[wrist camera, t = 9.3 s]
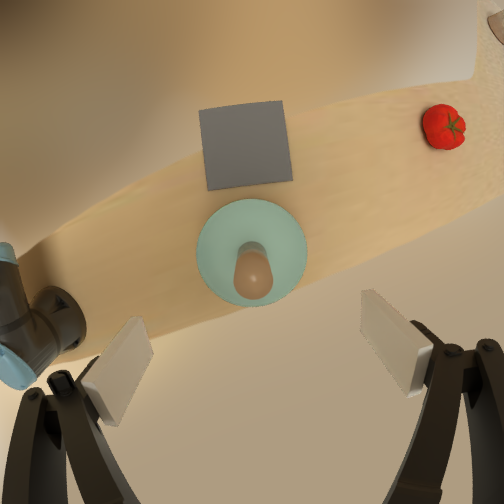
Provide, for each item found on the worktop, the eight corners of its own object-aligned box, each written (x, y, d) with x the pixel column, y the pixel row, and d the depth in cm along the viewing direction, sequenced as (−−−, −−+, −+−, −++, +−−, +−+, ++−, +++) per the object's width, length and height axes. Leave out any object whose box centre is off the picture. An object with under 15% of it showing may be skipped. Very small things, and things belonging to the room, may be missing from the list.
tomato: (427, 101, 42) (449, 92, 34) (454, 131, 43) (476, 128, 36) (409, 129, 43) (431, 123, 36) (437, 161, 44) (460, 160, 37)
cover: (206, 307, 35) (193, 350, 25) (191, 205, 32) (167, 214, 22) (307, 296, 35) (328, 336, 25) (300, 193, 32) (323, 197, 22)
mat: (208, 190, 46) (208, 190, 45) (199, 111, 42) (198, 110, 42) (292, 180, 45) (292, 180, 45) (281, 101, 42) (282, 100, 42)
